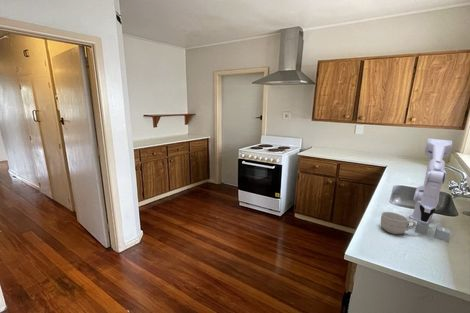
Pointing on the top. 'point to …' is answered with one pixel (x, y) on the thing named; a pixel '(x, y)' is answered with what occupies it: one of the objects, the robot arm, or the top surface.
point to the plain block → (422, 228)
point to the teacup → (395, 223)
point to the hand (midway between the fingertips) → (423, 221)
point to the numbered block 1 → (442, 233)
